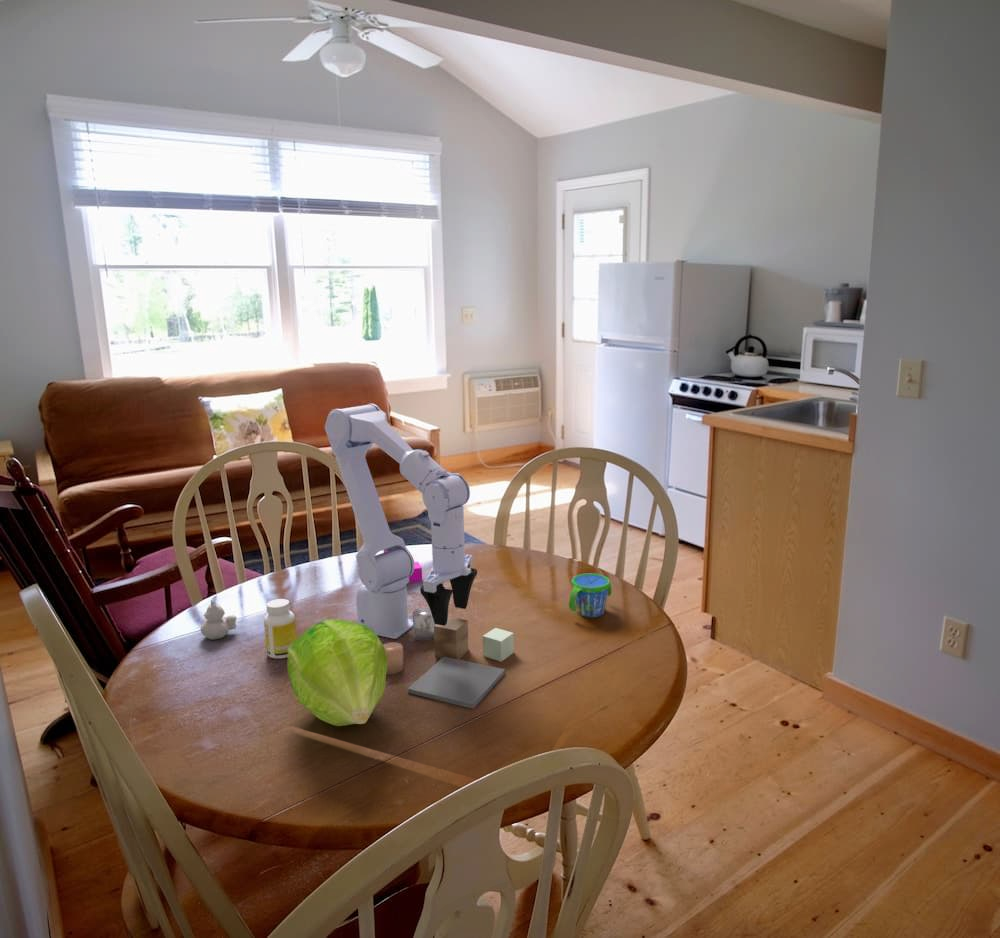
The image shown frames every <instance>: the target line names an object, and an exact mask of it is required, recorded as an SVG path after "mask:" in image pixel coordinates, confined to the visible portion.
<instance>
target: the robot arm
mask: <svg viewBox="0 0 1000 938" xmlns="http://www.w3.org/2000/svg"><path fill="white" fill-rule="evenodd" d="M324 430H325V432H326V436H327V439H328V441H329V442H328V443H329V445H330V448H331V451H332V453H333V456H334V457H335V460H336V464H337V466H338V469H339V473H340V474H341V478H342V481H343V485H344V487H345V490H346V494H347V496H348V498H349V501H350V505H351V508H352V511H353V513H354V517H355V519H356V522H357V525H358V528H359V532H360V534H361V537H362V540H363V543H362V545H361V546H360V548H359V550H358V551H357V553H356V555H355V558H356V561H357V566H358V577H359V579H360V582H361V583H362V584H361V585H360V586H359V588H358V591H357V593H356V616H357V623H359V624H362V625H365V626H367V627H369V628H371V629H372V630H373V631H374V632H375V634H376V635H377V637H378V636H379V637H384V638H390V639H393V640H396V639H398V638H400V637H401V636H403V635H404V634H405V633H406V632H407V631H409V630H410V629H412V628H413V619H410V618H409V612H408V611H409V610H408V592H407V591H408V590H407V584H409V583H408V582H409V576H411V575H412V574H413V572H414V562H415V559H414V556H413V555H412V553H411V551H410V550H408V548H407V546H406V543H405V540H404V539H403V538H401V537H400V536H398V535H396V534H394V533H392V532H391V529H390V527H389V524H388V521H387V518H386V515H385V512H384V509H383V507H382V504H381V503H382V502H381V501H380V497H379V495H378V491H377V488H376V486H375V482H374V480H373V476H372V474H371V471H370V468H369V466H368V462H367V459H366V455H367V453H368V450H370V449H371V448H372V447H373V445H375V446H377V447H378V448H379V449H380V450H382V451H383V452H384V453H386V454H387V455H388V456H389V457H391V458H392V459H393V460H394V461H396V462H397V463H398V464H399V472H400V474H401V475H402V476H403V477H404V478H405V479H406V480H407V481H408V482H409V483H411V485H412V486H413V487H414V488H415V489H417V491H418V492H420V493H421V497H422V501H423V504H424V506H425V507H426V510H427V514H428V515H427V516H428V517H427V518H428V519H429V521H430V524H431V525H430V526H431V527H430V529H431V549H432V550H431V551H432V552H431V555H432V567H431V569H430V571H429V573H428V575H427V577H426V578H425V579H424V580H423V585H421V586H420V588H419V590H420V591H419V592H420V595H422V596H423V599H424V600H425V601H426V603H427V605H428V608H430V611H431V614H432V617H433V620H434V623H435V624H437V625H443V626H445V625H446V624H447V619H448V617H449V606H450V601H451V597H452V598H453V604H454V608H457V609H463V610H466V609H467V607H468V603H469V598H470V593H471V589H472V586H473V584H474V580H475V579H476V577H477V574H478V569H476V568H473V567H472V566H473V564H474V562H473V560H474V559H473V555H471V554H466V553H465V550H466V549H465V547H466V546H465V520H464V505H466V504H467V503H468V502H469V500H470V497H471V491H470V490H471V489H470V486H469V483H468V481H467V479H465V478H464V477H463V475H462V474H460V473H457V472H456V473H452V472H451V471H447V470H446V469H445V468H444V467H442V466H441V465H440V464H439V463H437V462H436V461H435V460H434V459H433V458H432V457H431V456H430V453H429V452H428V450H423V449H413V448H412V447H411V446H410V445H409V444H408V443H407V442H406V441H405V439H404V438H403V437H401V435H400V434H399V433H398V432H397V431H396V430H395V428H393V427H392V425H391V424H390V423H388V416H387V413H386V412H384V411H383V410H382V409H381V408H380V407H379V406H378V405H377V404H375V403H367V404H365V405H357V406H352V407H345V408H334V409H331V411H329V413H328V415H327V418H326V421H325V425H324ZM384 550H387V552H384ZM381 551H383V553H382V552H381ZM379 552H381V553H380V554H378V553H379ZM413 559H414V560H413ZM447 581H449V582H450V586H451V589H450V588H446V587H445V586H444V584H445V583H446V582H447Z"/></svg>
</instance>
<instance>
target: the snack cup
mask: <svg viewBox="0 0 1000 938" xmlns="http://www.w3.org/2000/svg"><path fill="white" fill-rule="evenodd" d="M570 583H571V585H572V588H571V592H570V596H569V599H568V607H569V609H570V610H571V611H573V612H577V614H579V616H582V617H585V618H597V617H600V616H603V615H604V614H605V610H606V606H607V598H608V597H609V596H611V595H612V593H613V592H612V584H611V580H610V579H609V578H608V577H607V576H605V575H603V574H598V573H592V572H591V573H590V572H589V573H587V572H586V573H579V574H577V575H575V576H574V577H572V579H571V580H570Z"/></svg>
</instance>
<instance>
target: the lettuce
mask: <svg viewBox="0 0 1000 938" xmlns="http://www.w3.org/2000/svg"><path fill="white" fill-rule="evenodd" d="M286 663H287V664H286V665H287V667H286V668H287V673H288V677H289V681H290V685H291V689H292V691H293V692H294V695H295V697H296V700H297V702H298V703H299V704H301V706H303V707H304V708H306V710H308V711H309V712H310V713H312V714H313V715H314V716H316V718H318V719H319V720H321V721H323V722H325V723H327V724H330V725H332V726H336V727H343V726H350V725H355V724H356V725H363V724H366V723H367V721H368V719H369V718H370V716H371V714H372V713H373V711H374V709H375V708H376V707H377V706H378V705H379V704H380V701H381V699H382V696H383V693H384V692H385V690H386V681H387V680H386V678H387V674H386V672H387V666H388V665H387V659H386V652H385V648H384V646H383V642H382V641H381V639H380V638H379V637H378V635H376V634H375V632H374V631H373V630H372V629H371V628H369V627H367V626H365V625H362V624H359V623H358V622H354V621H348V620H344V619H339V618H338V619H337V618H336V619H332V618H328V619H325V620H322V621H319V622H317V623H314V624H313V625H312V626H310V627H309V628H308V629H307V630H306V631H304V632H303V633H302V634H301V635H300V636H299V637H298V638H297V640H296V641H295V642H294V643H293V644H292V645H291V646H290V647H289V649H288V657H287V661H286Z"/></svg>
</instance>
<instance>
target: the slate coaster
mask: <svg viewBox="0 0 1000 938" xmlns="http://www.w3.org/2000/svg"><path fill="white" fill-rule="evenodd" d="M504 675H506V669H504V668H500V667H495V666H490V665H486V664H481V663H476V662H472V661H466V660H462V659H459V660H458V659H454V658H449V657H443V658H440V659H439V660H438V661H437V662H435V664H433V665H432V666H431V667H430V668H429V669H428V670H427V671H426V672H425V673H424V674H422V675H421V676H420V677H419V678H418V679H416V681H415V682H413V683H412V685H410V686H409V687H408V688H407V692H408V694H411V695H415V696H419V697H422V698H423V697H424V698H427V699H431V700H436V701H439V702H444V703H448V704H452V705H456V706H460V707H465V708H469V709H472V710H474V709H475V708H476V707H477V706H478V705H479V703H481V701H482V700H483V699H484V698H485V697H486V695H487V694H488V693H489V692H490V691H491V690H492V689H493V688H494V686H495V685H496V684H497V683H498V682H500V680H501V679H502V678H503V677H504Z"/></svg>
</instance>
